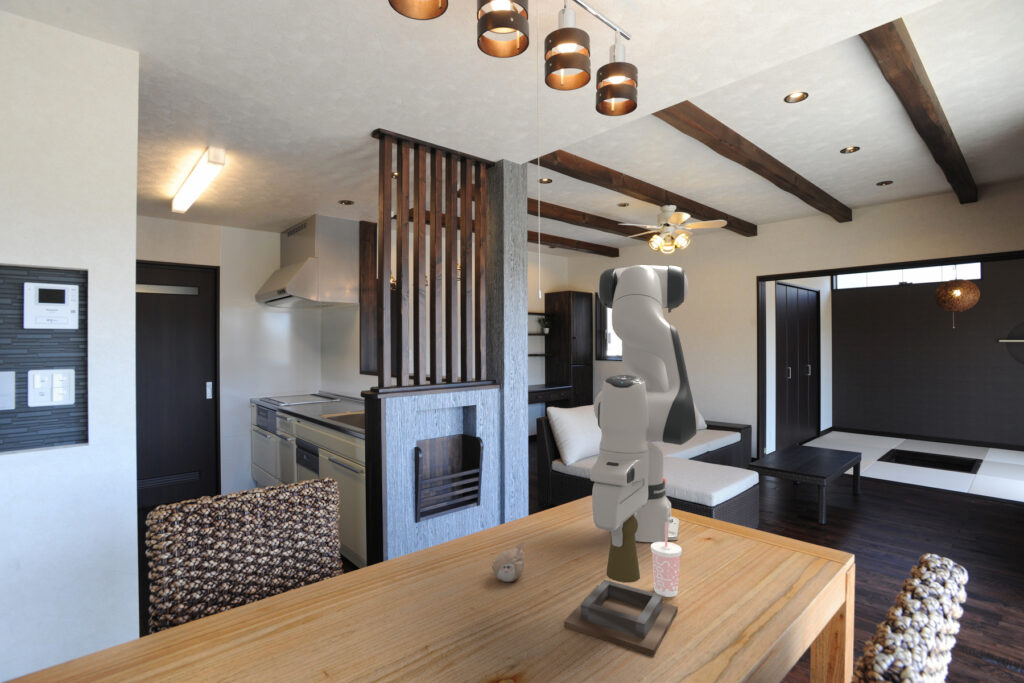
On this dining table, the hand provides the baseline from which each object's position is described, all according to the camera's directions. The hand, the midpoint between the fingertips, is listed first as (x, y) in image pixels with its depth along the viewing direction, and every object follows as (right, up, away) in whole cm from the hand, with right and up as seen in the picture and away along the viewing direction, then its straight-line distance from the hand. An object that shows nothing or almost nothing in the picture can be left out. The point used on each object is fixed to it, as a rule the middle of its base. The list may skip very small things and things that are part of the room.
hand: (623, 540), depth 92 cm
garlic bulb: (-21, -15, +15) cm, 30 cm away
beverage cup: (+11, -15, +11) cm, 22 cm away
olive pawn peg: (0, -7, 0) cm, 7 cm away
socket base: (0, -15, 0) cm, 15 cm away
